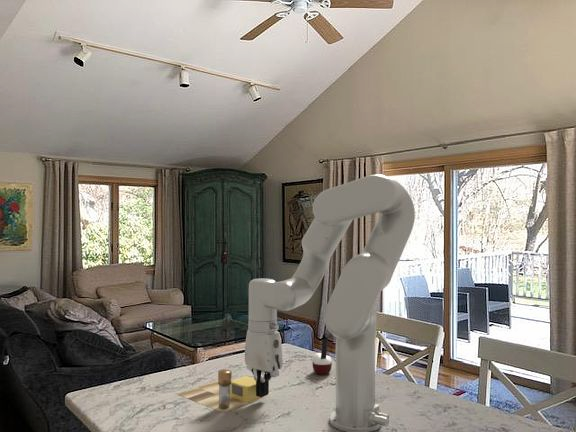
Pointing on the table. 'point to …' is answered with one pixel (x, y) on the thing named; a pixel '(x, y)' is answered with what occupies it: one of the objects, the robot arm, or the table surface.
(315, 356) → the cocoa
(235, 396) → the yellow rectangular block
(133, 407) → the table surface
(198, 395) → the subfloor panel
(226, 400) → the two-tone metal cylinder
